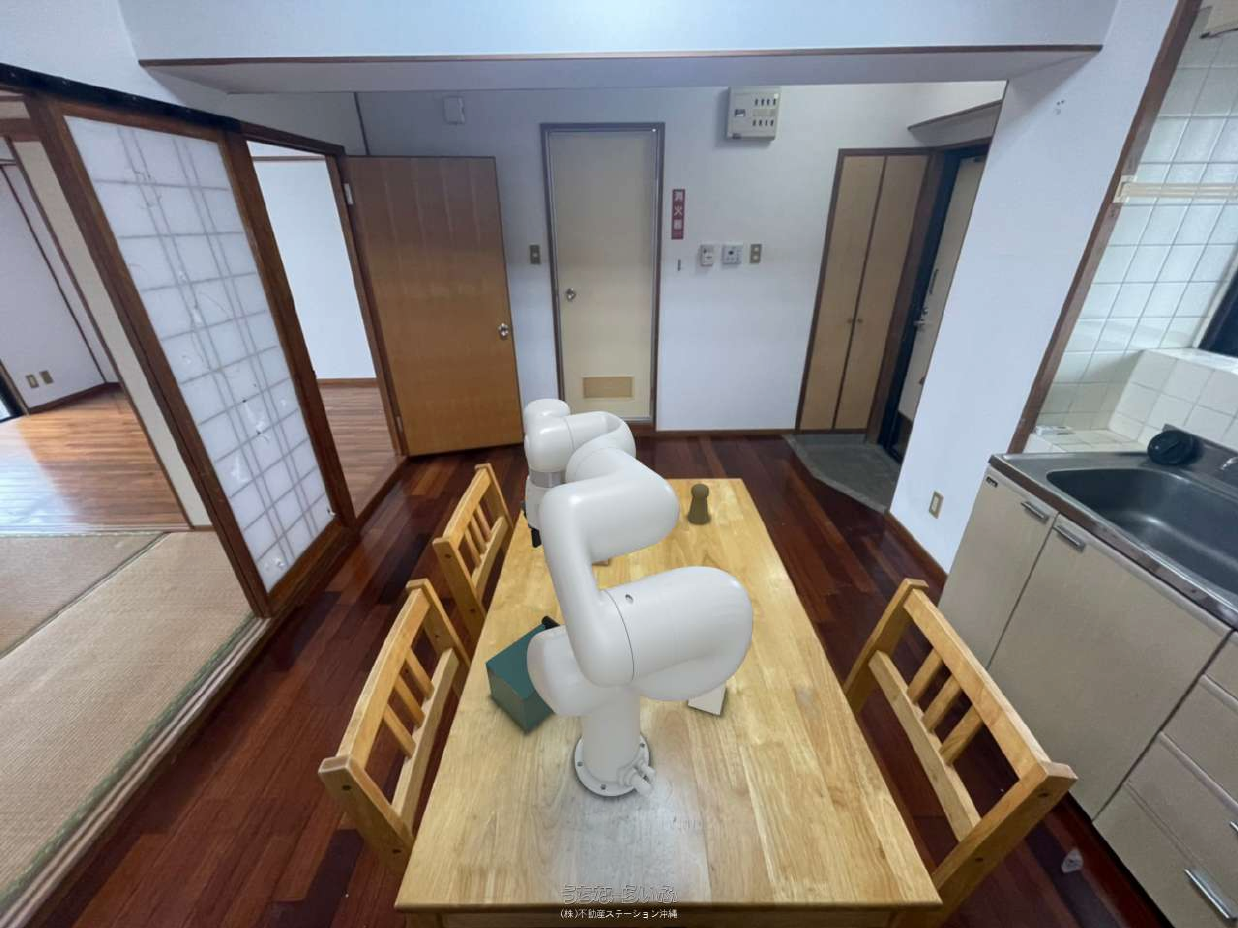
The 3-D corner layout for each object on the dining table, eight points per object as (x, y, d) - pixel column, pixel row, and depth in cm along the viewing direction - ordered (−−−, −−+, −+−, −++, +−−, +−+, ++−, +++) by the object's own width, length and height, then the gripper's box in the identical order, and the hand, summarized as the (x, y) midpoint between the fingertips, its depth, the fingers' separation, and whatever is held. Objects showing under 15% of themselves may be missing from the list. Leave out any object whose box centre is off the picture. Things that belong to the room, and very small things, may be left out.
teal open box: (546, 654, 108) (543, 625, 104) (582, 685, 101) (581, 655, 97) (491, 695, 99) (485, 665, 95) (527, 732, 92) (523, 701, 88)
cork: (684, 514, 154) (686, 482, 149) (702, 511, 156) (705, 479, 151) (693, 525, 149) (695, 493, 144) (711, 521, 151) (714, 489, 145)
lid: (546, 623, 104) (544, 602, 102) (584, 652, 98) (582, 631, 95) (485, 665, 95) (481, 644, 93) (523, 701, 88) (519, 679, 86)
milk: (695, 681, 102) (702, 595, 92) (726, 690, 100) (736, 603, 90) (687, 706, 97) (694, 618, 87) (719, 716, 95) (730, 627, 85)
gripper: (500, 466, 89) (511, 546, 97) (574, 497, 80) (579, 583, 88) (532, 450, 94) (540, 528, 102) (605, 478, 85) (607, 561, 93)
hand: (558, 553), depth 95 cm, fingers open, 9 cm apart
